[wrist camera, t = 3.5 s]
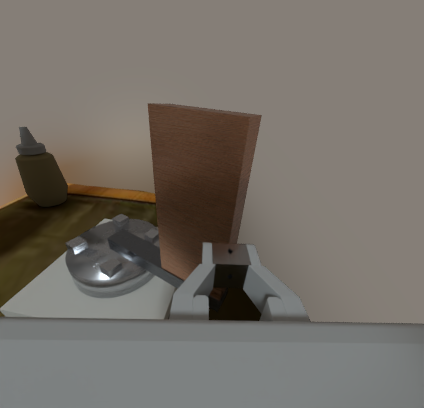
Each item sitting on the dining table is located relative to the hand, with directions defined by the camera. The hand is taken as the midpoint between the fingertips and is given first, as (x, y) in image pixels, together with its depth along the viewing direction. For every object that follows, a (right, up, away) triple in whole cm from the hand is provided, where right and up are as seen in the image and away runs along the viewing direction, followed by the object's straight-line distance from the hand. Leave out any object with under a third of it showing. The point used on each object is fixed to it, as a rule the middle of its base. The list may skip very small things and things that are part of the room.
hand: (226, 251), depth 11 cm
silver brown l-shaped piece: (-11, -8, +17) cm, 22 cm away
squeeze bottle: (-42, +3, +37) cm, 56 cm away
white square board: (-16, -9, +21) cm, 27 cm away
